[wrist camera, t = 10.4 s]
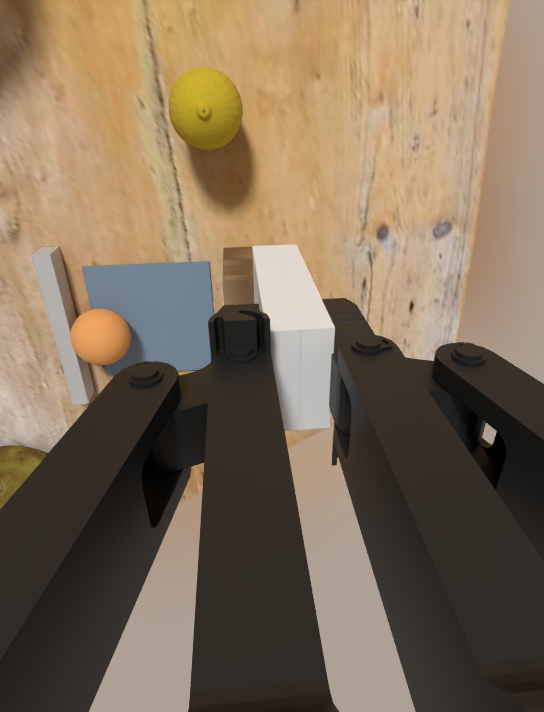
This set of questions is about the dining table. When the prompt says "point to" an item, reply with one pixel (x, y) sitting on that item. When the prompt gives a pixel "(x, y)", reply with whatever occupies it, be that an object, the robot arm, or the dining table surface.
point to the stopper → (62, 320)
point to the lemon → (205, 108)
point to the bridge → (238, 276)
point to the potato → (16, 468)
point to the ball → (100, 336)
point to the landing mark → (157, 310)
